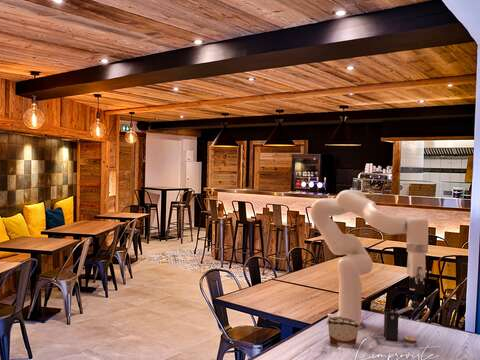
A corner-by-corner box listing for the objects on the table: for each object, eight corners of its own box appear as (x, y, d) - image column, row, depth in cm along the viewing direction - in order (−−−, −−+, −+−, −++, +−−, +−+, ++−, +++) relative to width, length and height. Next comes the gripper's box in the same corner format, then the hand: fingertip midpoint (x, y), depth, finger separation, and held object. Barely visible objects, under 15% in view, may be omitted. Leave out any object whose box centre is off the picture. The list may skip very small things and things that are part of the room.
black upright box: (402, 340, 191) (402, 309, 191) (406, 347, 184) (407, 315, 183) (375, 337, 194) (376, 307, 194) (378, 344, 186) (379, 312, 186)
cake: (404, 345, 185) (404, 338, 185) (402, 341, 190) (402, 334, 190) (417, 347, 184) (417, 340, 184) (414, 343, 188) (415, 336, 188)
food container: (358, 343, 187) (359, 318, 187) (359, 348, 181) (360, 323, 181) (325, 339, 191) (326, 315, 191) (326, 344, 185) (326, 319, 185)
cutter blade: (420, 306, 187) (416, 299, 187) (422, 308, 184) (418, 301, 184) (389, 319, 190) (385, 312, 191) (390, 321, 187) (386, 314, 188)
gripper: (402, 245, 195) (401, 285, 195) (411, 251, 179) (410, 295, 179) (422, 246, 193) (421, 287, 193) (433, 252, 176) (432, 297, 176)
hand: (416, 291), depth 186 cm, fingers open, 9 cm apart
